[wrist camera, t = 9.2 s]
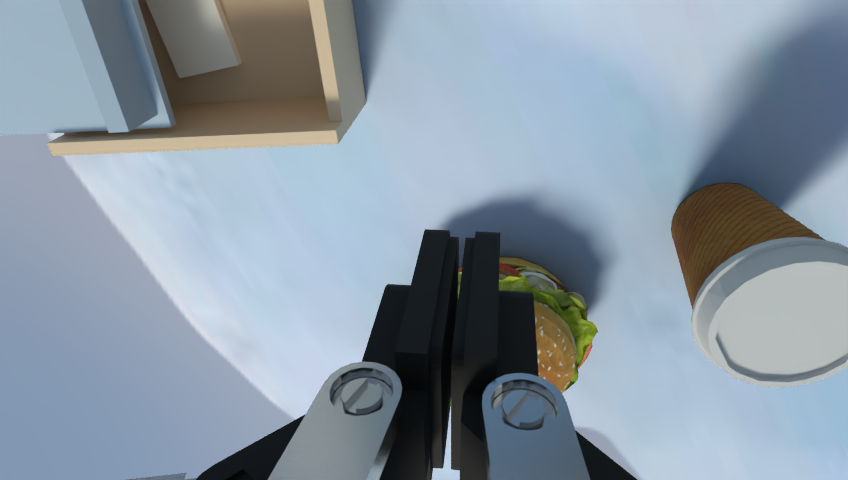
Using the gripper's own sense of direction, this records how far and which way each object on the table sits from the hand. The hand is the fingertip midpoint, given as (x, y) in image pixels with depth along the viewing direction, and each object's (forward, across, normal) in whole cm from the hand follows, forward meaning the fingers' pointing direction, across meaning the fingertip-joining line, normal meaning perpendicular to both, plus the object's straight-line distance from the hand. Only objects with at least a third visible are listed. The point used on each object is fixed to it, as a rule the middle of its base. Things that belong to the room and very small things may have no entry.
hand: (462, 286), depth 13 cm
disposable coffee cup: (+27, -17, +13) cm, 34 cm away
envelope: (+26, +19, -2) cm, 32 cm away
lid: (+20, +28, -1) cm, 34 cm away
